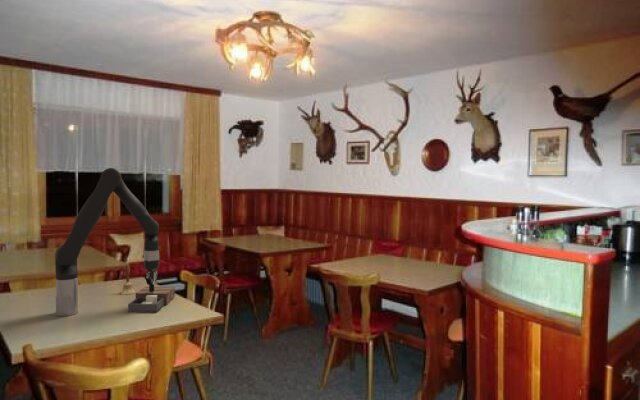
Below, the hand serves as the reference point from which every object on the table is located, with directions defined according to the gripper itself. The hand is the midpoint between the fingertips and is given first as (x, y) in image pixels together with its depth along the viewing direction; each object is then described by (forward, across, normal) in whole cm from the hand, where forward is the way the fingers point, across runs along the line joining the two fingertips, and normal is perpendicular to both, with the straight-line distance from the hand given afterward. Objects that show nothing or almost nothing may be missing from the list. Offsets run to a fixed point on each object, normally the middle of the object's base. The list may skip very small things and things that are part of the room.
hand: (151, 291), depth 238 cm
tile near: (+4, +8, 0) cm, 8 cm away
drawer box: (+7, -6, 0) cm, 9 cm away
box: (+7, +7, 0) cm, 10 cm away
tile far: (+4, +2, +1) cm, 4 cm away
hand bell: (+7, -22, -21) cm, 31 cm away
